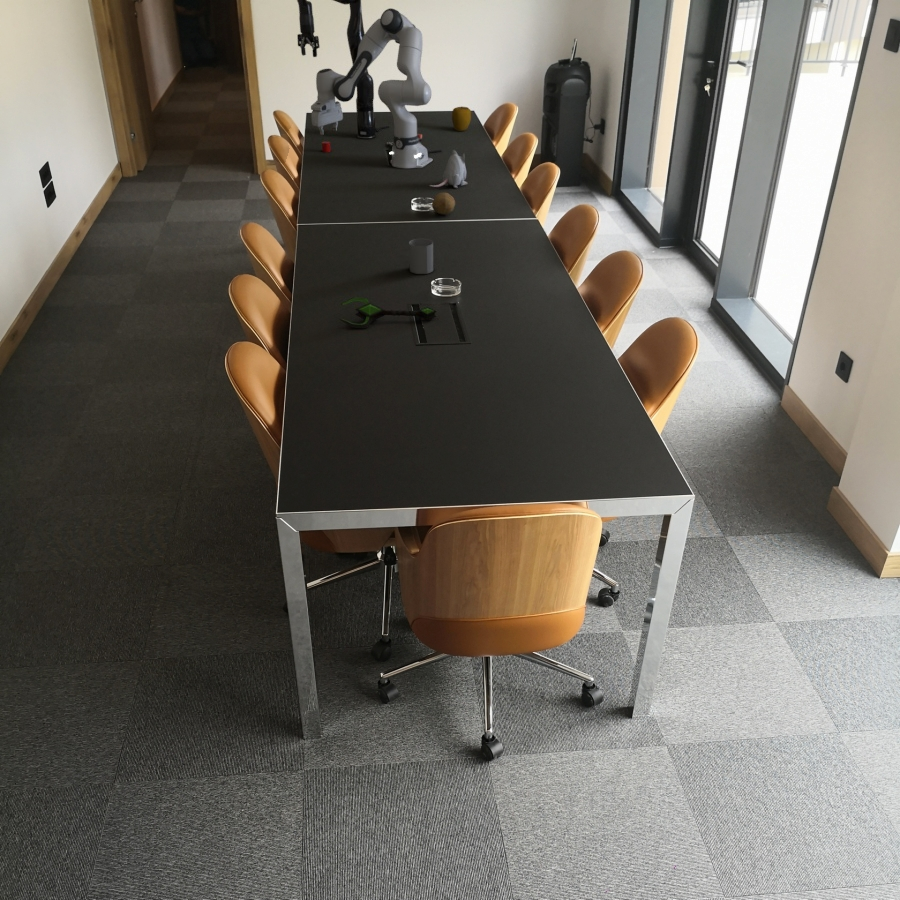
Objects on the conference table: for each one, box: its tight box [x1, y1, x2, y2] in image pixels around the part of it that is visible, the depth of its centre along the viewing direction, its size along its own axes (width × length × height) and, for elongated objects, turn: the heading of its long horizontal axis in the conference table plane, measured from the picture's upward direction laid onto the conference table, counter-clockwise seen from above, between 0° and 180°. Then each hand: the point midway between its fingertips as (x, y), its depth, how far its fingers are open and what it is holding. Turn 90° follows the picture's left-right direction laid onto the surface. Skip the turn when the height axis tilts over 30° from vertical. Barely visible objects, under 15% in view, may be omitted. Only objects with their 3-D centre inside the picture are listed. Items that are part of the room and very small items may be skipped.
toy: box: [428, 149, 468, 189], centre depth 390 cm, size 9×24×15 cm, turn 137°
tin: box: [321, 141, 332, 153], centre depth 450 cm, size 4×4×4 cm
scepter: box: [339, 296, 438, 329], centre depth 270 cm, size 6×13×30 cm
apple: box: [451, 105, 472, 132], centre depth 487 cm, size 11×11×13 cm
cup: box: [408, 237, 434, 275], centre depth 305 cm, size 8×8×10 cm
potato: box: [431, 192, 456, 216], centre depth 360 cm, size 10×14×8 cm
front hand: (328, 132), depth 441 cm, fingers open, 8 cm apart
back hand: (309, 56), depth 472 cm, fingers open, 8 cm apart
